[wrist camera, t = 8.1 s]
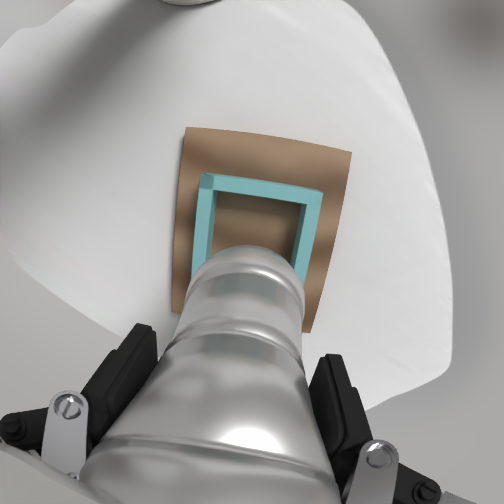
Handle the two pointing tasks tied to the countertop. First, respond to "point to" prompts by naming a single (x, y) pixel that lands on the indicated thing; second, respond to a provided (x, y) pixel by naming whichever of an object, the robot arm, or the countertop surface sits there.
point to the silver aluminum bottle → (223, 399)
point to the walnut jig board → (258, 204)
